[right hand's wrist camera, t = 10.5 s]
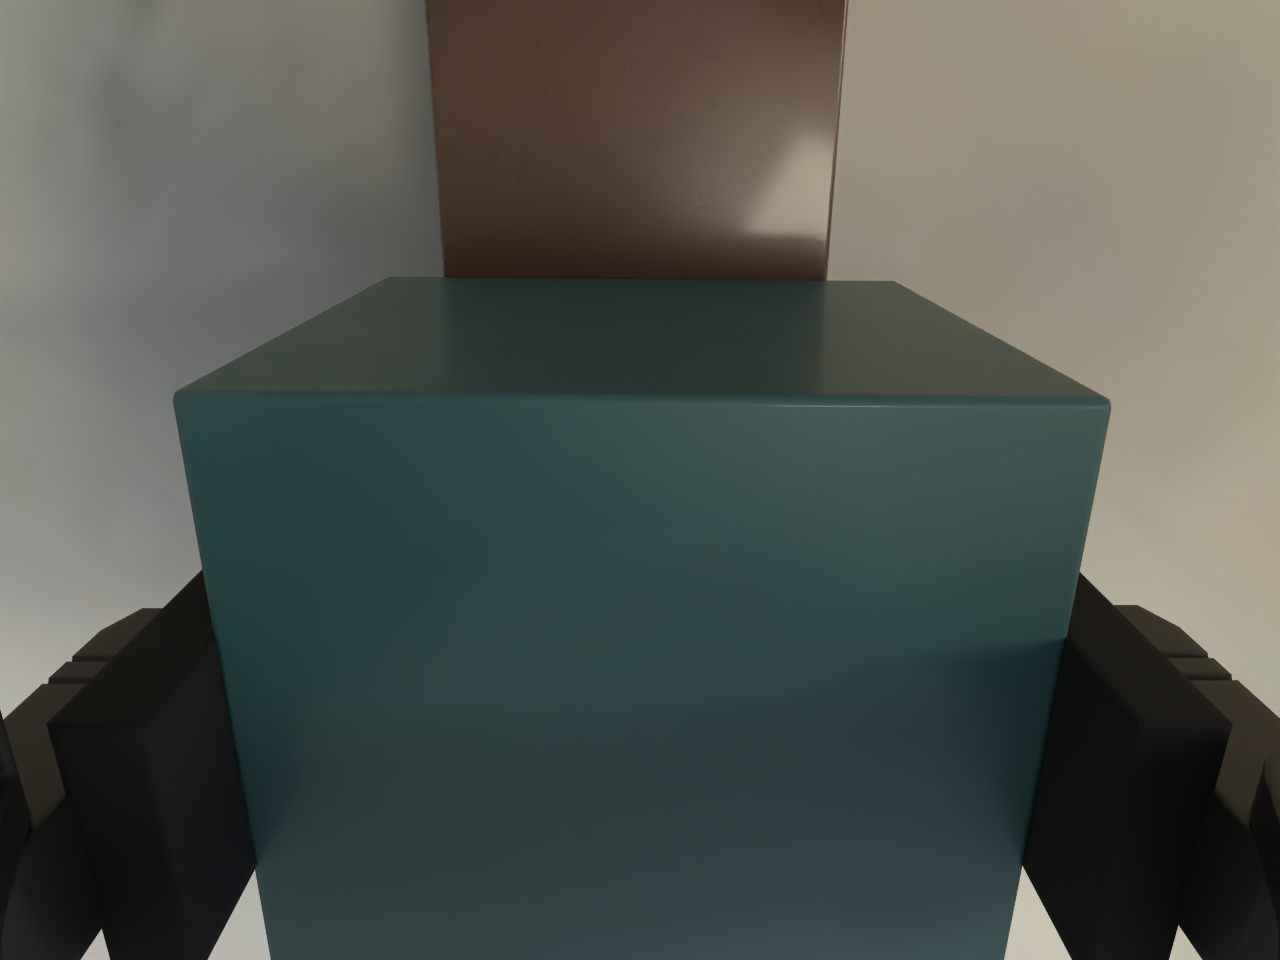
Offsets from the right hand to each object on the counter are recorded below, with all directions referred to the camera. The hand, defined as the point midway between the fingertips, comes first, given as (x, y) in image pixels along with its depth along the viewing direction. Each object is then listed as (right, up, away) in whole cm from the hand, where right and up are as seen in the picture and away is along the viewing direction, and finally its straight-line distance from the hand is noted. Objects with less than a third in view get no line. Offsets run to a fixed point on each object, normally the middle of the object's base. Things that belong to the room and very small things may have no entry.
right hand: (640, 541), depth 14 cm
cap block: (0, +1, +2) cm, 2 cm away
